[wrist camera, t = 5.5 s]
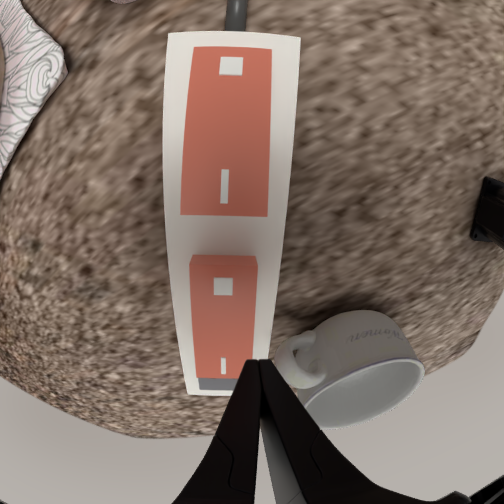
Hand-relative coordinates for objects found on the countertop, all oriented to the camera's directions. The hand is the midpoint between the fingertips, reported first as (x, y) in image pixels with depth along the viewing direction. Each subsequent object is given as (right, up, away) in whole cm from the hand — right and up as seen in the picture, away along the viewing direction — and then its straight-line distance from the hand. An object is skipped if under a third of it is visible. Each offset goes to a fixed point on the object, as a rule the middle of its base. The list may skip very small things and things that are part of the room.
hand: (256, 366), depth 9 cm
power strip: (-2, +7, +9) cm, 12 cm away
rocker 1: (-1, +9, +2) cm, 10 cm away
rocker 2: (-2, 0, +7) cm, 8 cm away
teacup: (+7, -3, +16) cm, 18 cm away
